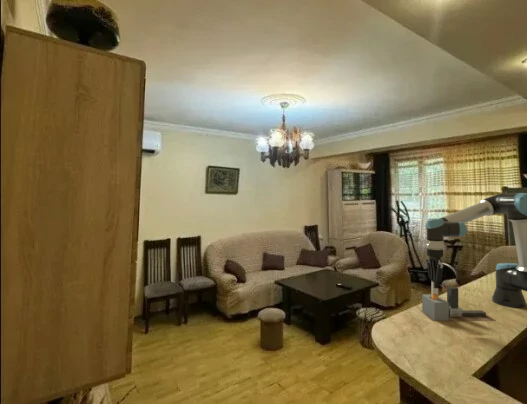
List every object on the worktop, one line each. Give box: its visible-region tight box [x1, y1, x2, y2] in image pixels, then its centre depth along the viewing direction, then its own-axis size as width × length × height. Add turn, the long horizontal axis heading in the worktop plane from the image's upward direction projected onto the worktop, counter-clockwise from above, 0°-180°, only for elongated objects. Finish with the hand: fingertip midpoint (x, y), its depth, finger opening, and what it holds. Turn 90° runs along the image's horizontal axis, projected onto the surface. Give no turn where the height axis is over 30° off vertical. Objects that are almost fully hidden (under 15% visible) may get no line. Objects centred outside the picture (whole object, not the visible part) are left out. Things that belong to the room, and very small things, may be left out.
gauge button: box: [431, 293, 439, 300], centre depth 155 cm, size 3×3×8 cm
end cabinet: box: [421, 293, 449, 320], centre depth 155 cm, size 7×12×9 cm, turn 178°
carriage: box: [446, 285, 463, 317], centre depth 154 cm, size 6×6×14 cm
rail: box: [462, 309, 487, 317], centre depth 154 cm, size 22×3×2 cm, turn 88°
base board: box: [420, 310, 497, 322], centre depth 155 cm, size 31×13×1 cm, turn 88°
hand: (434, 293), depth 154 cm, fingers closed
